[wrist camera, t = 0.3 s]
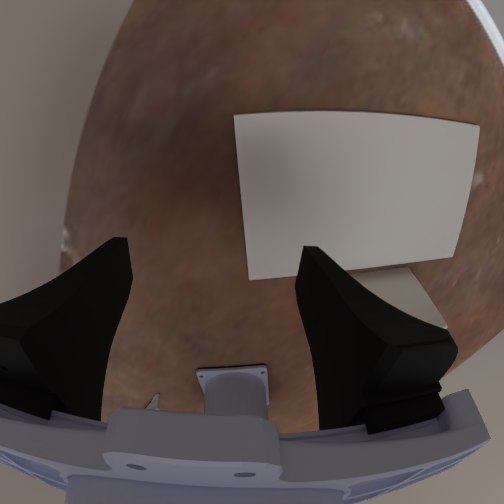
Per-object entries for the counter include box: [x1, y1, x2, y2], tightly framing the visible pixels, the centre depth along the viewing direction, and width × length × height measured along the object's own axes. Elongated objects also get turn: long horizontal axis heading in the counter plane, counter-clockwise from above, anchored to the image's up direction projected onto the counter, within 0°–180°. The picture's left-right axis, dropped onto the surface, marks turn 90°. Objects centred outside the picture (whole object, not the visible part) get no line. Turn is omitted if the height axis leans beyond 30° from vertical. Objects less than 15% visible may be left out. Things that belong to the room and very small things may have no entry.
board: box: [233, 110, 480, 280], centre depth 22 cm, size 13×20×1 cm, turn 94°
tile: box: [349, 267, 448, 329], centre depth 24 cm, size 3×10×8 cm, turn 94°
